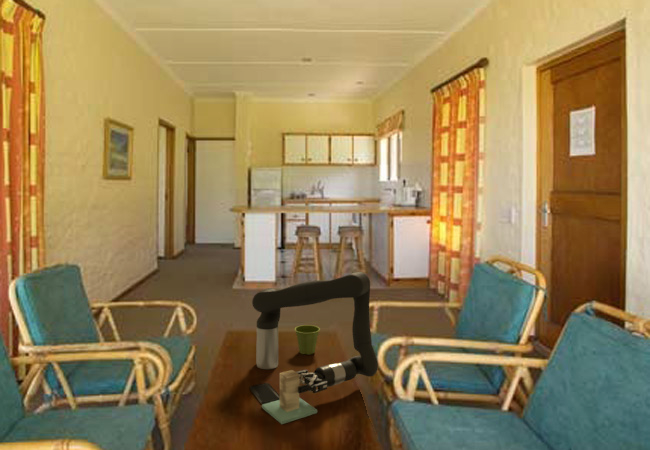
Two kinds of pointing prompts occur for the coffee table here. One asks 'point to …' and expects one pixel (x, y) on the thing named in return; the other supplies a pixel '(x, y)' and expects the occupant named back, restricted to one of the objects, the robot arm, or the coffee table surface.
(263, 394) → the phone
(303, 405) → the green square tile
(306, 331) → the plant pot
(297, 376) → the birch block
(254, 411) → the coffee table surface
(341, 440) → the coffee table surface
